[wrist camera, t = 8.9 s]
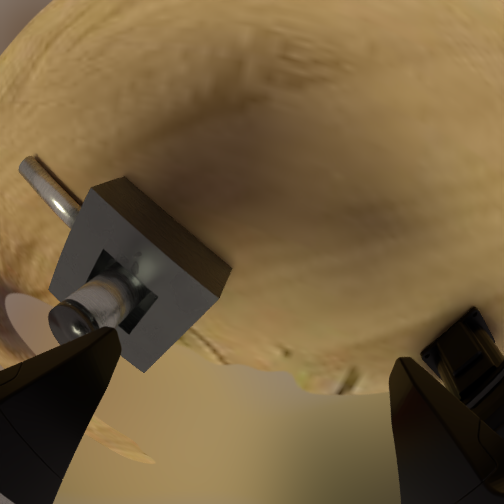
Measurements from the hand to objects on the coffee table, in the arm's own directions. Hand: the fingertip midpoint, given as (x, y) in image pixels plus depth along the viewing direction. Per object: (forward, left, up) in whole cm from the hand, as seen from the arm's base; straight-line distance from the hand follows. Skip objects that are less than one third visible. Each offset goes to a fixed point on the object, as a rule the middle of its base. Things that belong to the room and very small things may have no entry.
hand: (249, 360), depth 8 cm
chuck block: (+10, +9, -12) cm, 18 cm away
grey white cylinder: (+5, +9, -11) cm, 15 cm away
